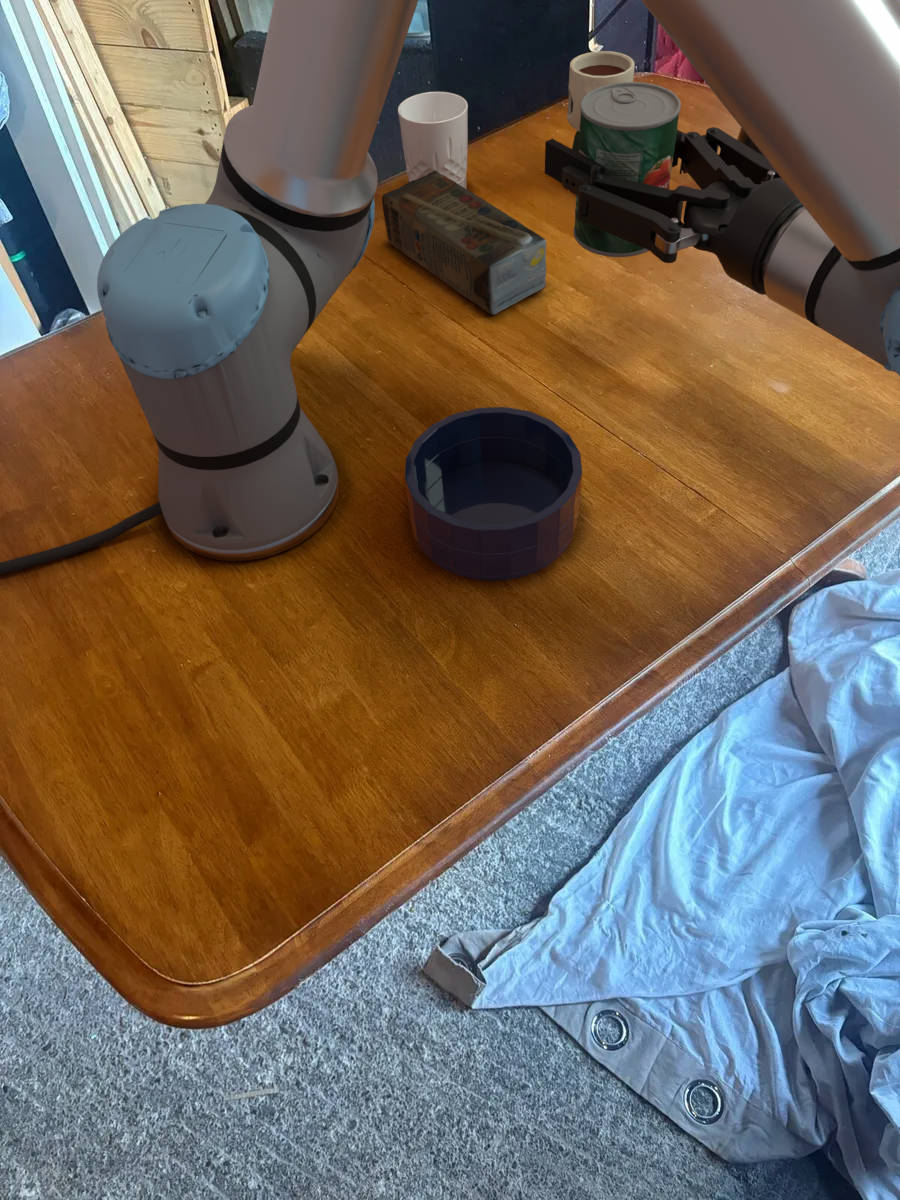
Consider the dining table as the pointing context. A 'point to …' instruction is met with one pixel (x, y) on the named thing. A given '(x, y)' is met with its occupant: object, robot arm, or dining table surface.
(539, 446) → the pot
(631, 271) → the dining table surface
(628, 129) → the canned tomato
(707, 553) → the dining table surface
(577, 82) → the character mug
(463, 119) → the white cup
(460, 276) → the beverage carton
